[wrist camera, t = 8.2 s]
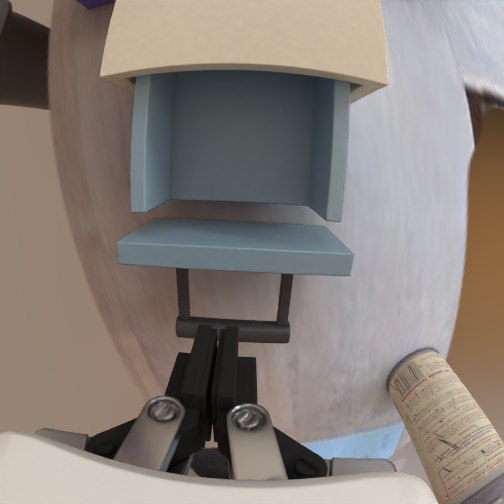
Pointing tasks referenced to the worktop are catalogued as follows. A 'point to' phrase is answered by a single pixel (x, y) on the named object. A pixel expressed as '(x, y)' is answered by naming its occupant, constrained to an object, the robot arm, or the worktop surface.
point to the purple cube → (93, 3)
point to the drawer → (238, 179)
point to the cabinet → (248, 39)
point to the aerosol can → (448, 430)
